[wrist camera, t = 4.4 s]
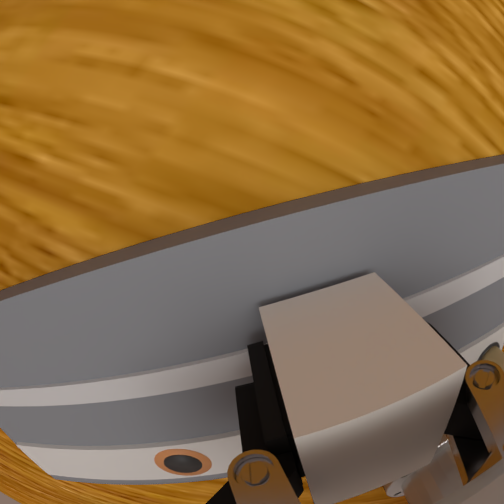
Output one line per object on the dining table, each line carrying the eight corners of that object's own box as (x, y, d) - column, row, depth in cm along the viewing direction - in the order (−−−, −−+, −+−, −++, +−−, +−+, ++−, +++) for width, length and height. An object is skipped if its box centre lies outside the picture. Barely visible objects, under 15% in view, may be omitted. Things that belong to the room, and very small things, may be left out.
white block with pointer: (374, 421, 13) (412, 497, 8) (298, 447, 13) (322, 530, 8) (374, 271, 10) (467, 365, 5) (258, 307, 10) (294, 438, 5)
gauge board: (482, 360, 16) (528, 409, 11) (59, 464, 15) (44, 523, 10) (506, 154, 11) (595, 178, 5) (-59, 313, 10) (-111, 369, 5)
